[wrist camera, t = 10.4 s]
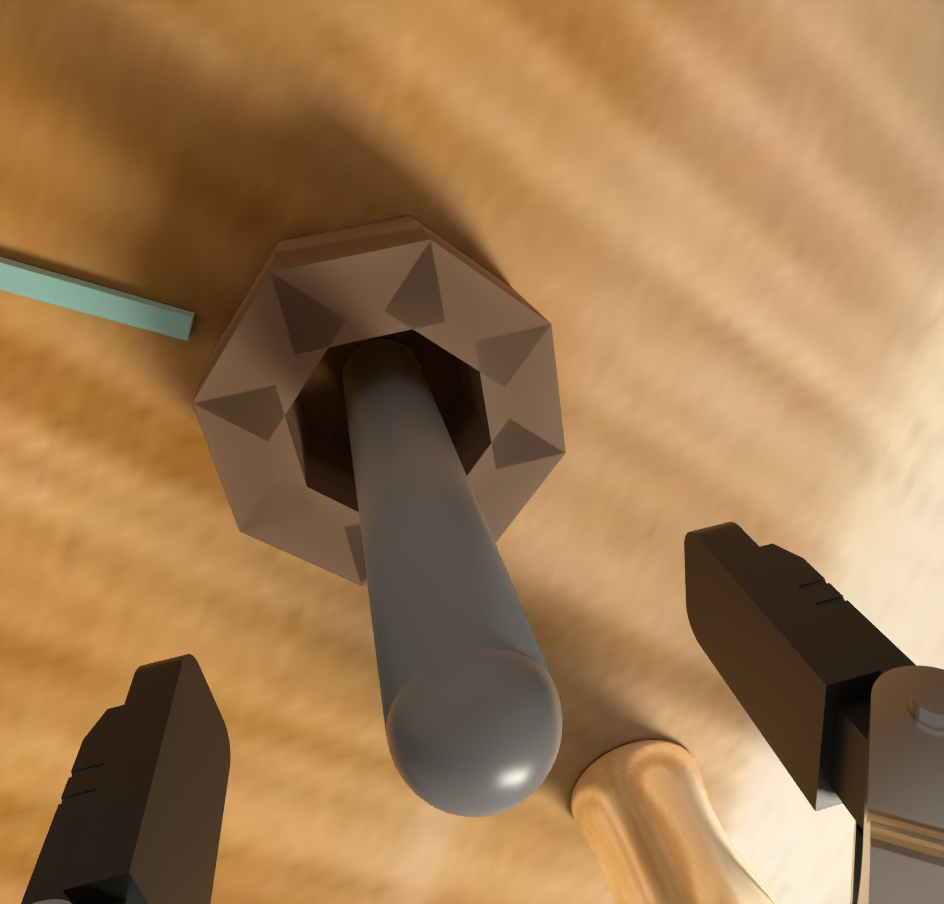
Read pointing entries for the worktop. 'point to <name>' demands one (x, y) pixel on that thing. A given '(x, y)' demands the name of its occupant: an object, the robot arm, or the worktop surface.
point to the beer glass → (660, 830)
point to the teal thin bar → (94, 299)
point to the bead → (358, 318)
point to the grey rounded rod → (442, 604)
